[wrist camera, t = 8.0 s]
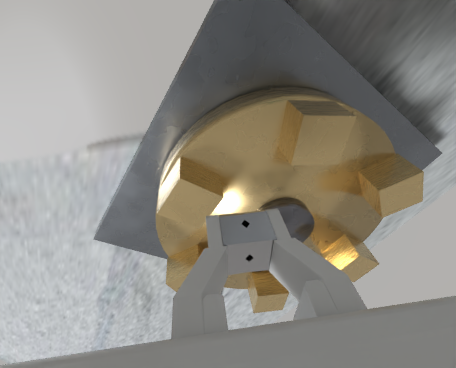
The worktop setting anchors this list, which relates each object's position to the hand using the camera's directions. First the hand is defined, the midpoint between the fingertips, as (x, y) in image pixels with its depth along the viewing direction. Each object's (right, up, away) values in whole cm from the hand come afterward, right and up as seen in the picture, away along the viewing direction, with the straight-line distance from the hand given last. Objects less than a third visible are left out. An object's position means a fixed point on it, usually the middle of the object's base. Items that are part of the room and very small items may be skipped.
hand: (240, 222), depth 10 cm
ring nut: (+3, 0, +13) cm, 13 cm away
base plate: (+3, +2, +15) cm, 15 cm away
